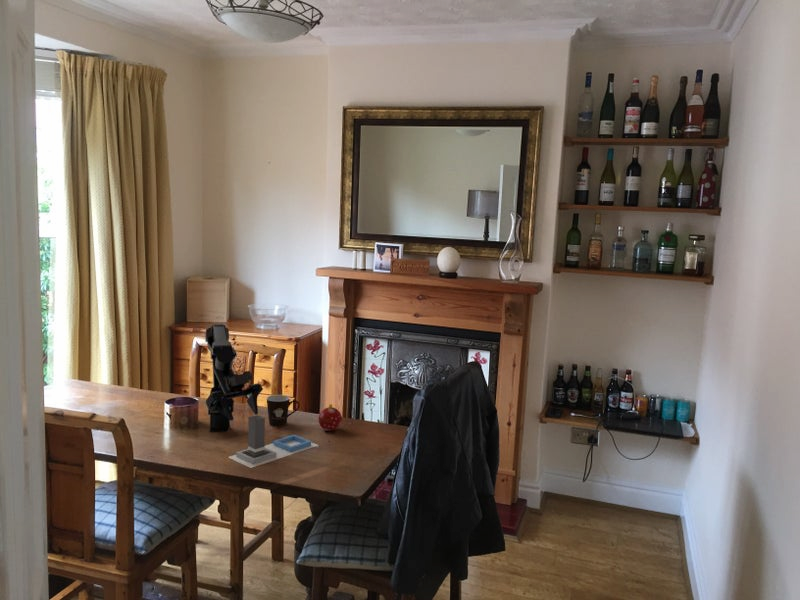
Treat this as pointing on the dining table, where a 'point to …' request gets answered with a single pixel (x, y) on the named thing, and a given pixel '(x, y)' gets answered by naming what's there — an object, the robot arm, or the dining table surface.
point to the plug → (256, 437)
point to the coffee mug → (279, 409)
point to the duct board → (275, 451)
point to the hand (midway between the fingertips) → (244, 417)
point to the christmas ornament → (330, 418)
